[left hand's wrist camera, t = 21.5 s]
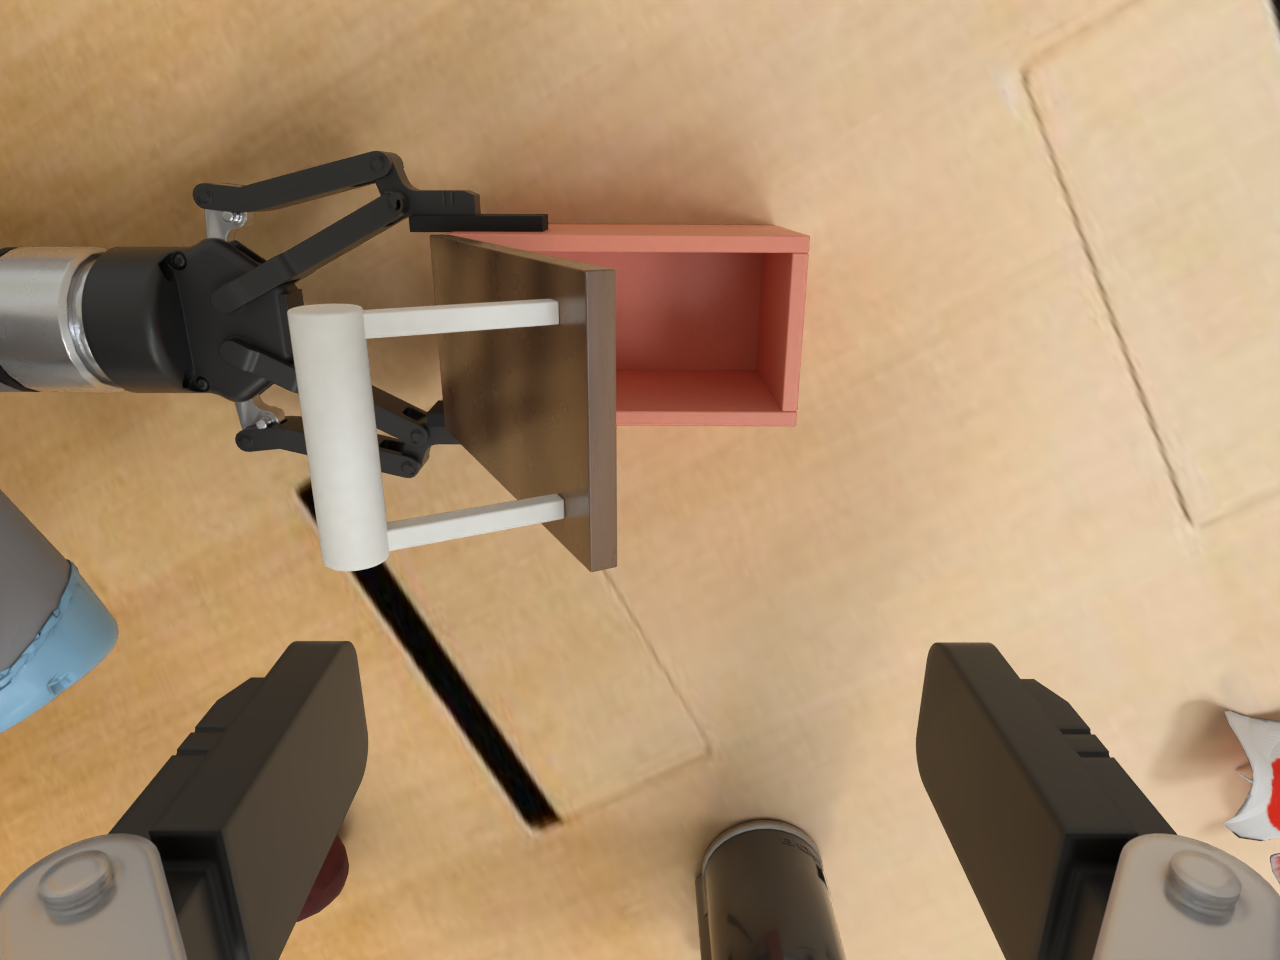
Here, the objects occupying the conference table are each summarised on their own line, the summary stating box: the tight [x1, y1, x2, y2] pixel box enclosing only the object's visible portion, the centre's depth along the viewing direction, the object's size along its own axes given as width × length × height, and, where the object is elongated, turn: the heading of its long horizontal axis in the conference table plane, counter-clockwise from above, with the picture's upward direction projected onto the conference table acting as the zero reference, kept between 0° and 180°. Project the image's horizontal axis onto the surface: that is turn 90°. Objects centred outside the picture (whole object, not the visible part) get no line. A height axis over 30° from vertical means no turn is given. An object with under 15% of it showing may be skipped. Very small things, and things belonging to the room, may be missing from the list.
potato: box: [296, 835, 349, 922], centre depth 60 cm, size 7×8×7 cm
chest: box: [443, 224, 810, 426], centre depth 44 cm, size 17×9×11 cm, turn 90°
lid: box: [287, 235, 617, 572], centre depth 30 cm, size 18×9×8 cm
